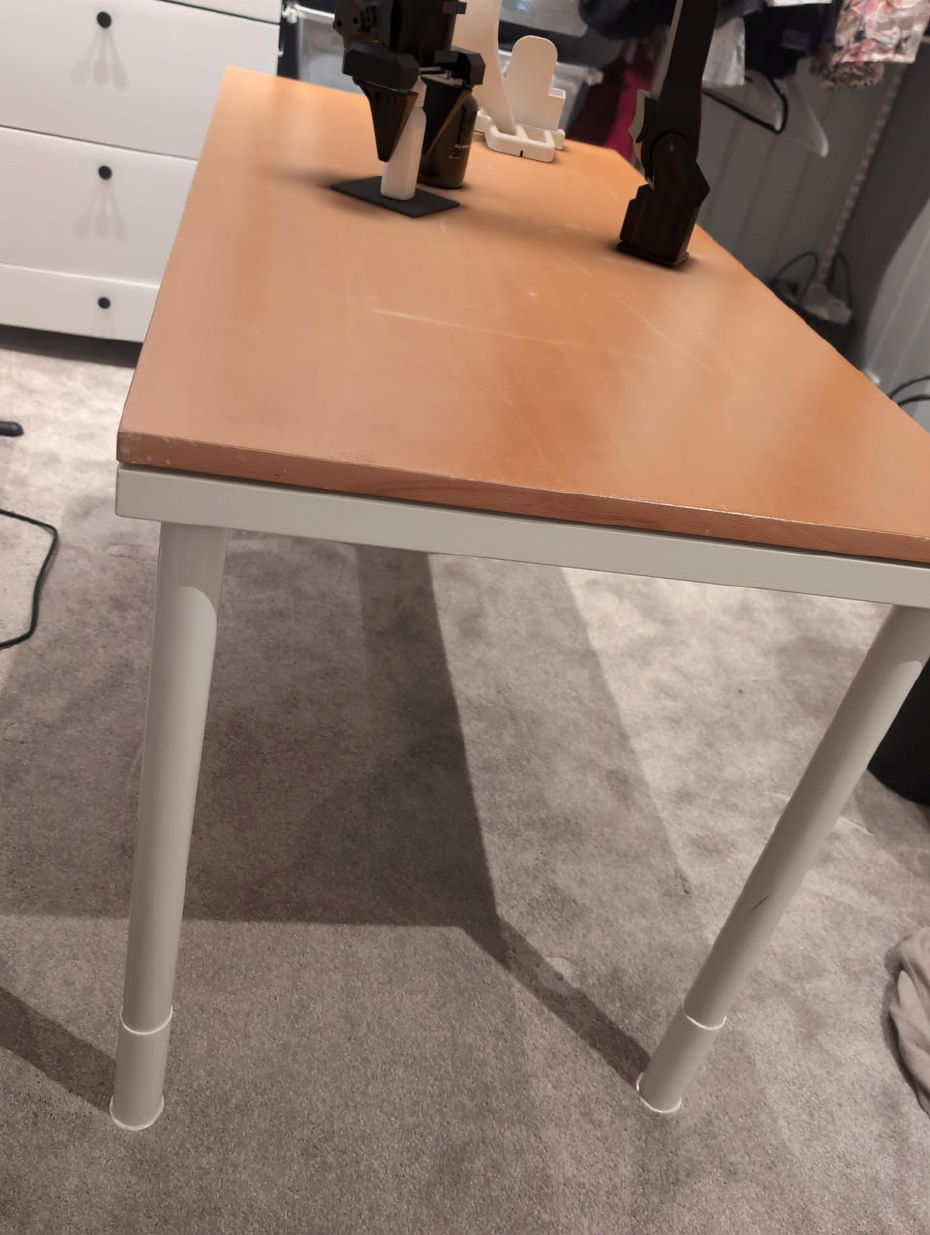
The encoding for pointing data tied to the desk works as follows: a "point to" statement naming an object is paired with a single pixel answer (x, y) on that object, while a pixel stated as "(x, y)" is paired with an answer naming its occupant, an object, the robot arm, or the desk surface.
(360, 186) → the coaster
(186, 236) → the desk surface
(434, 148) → the supplement bottle
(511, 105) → the jewelry stand
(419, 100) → the eye dropper bottle
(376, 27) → the robot arm
